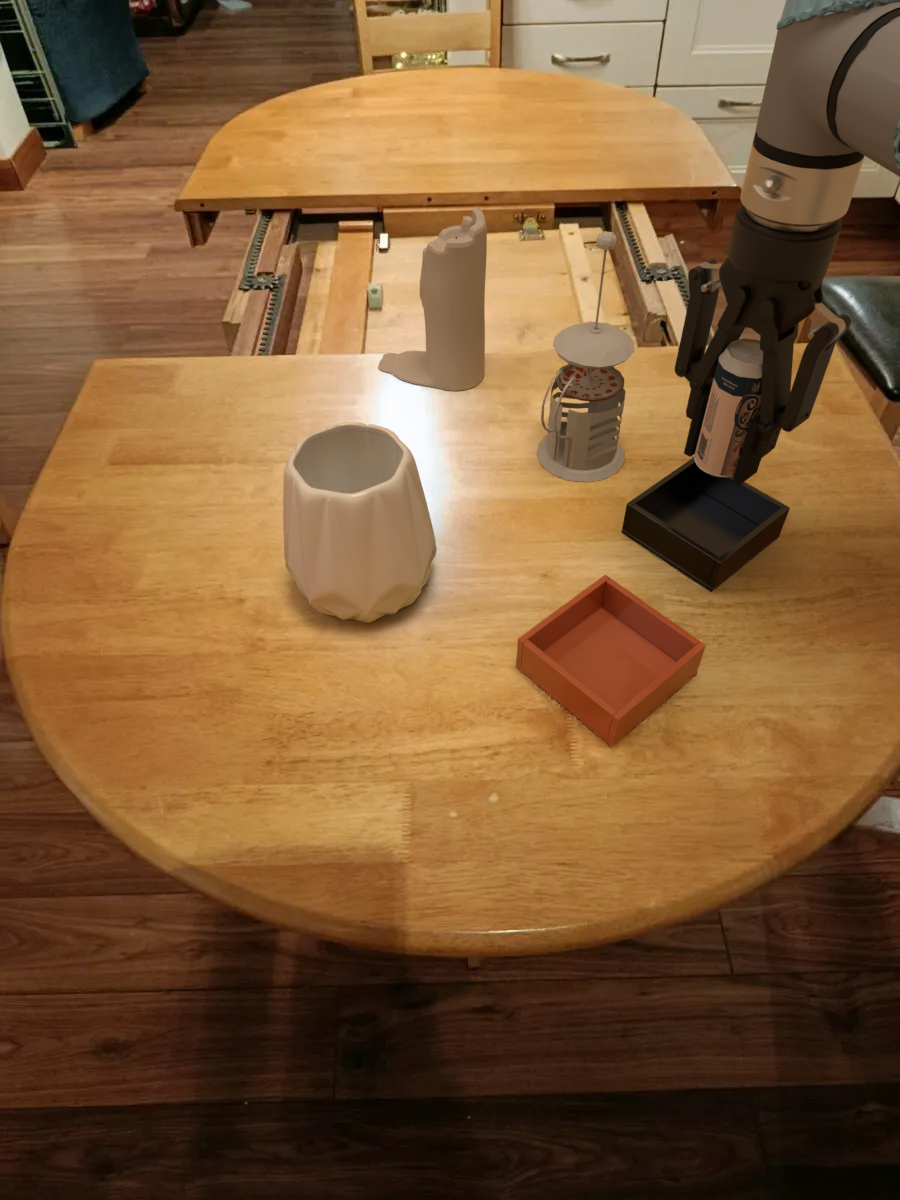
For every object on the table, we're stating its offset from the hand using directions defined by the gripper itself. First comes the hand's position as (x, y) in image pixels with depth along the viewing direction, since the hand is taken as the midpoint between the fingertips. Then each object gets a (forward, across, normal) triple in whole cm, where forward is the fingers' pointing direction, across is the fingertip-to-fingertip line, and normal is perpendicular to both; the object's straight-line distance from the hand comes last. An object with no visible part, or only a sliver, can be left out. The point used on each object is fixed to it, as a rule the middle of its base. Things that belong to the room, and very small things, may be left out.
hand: (719, 462), depth 79 cm
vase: (+10, -18, -29) cm, 35 cm away
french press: (+10, -17, 0) cm, 19 cm away
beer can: (0, 0, 0) cm, 0 cm away
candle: (+10, -41, 0) cm, 42 cm away
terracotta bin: (+9, +5, -20) cm, 23 cm away
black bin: (+9, 0, 0) cm, 9 cm away
